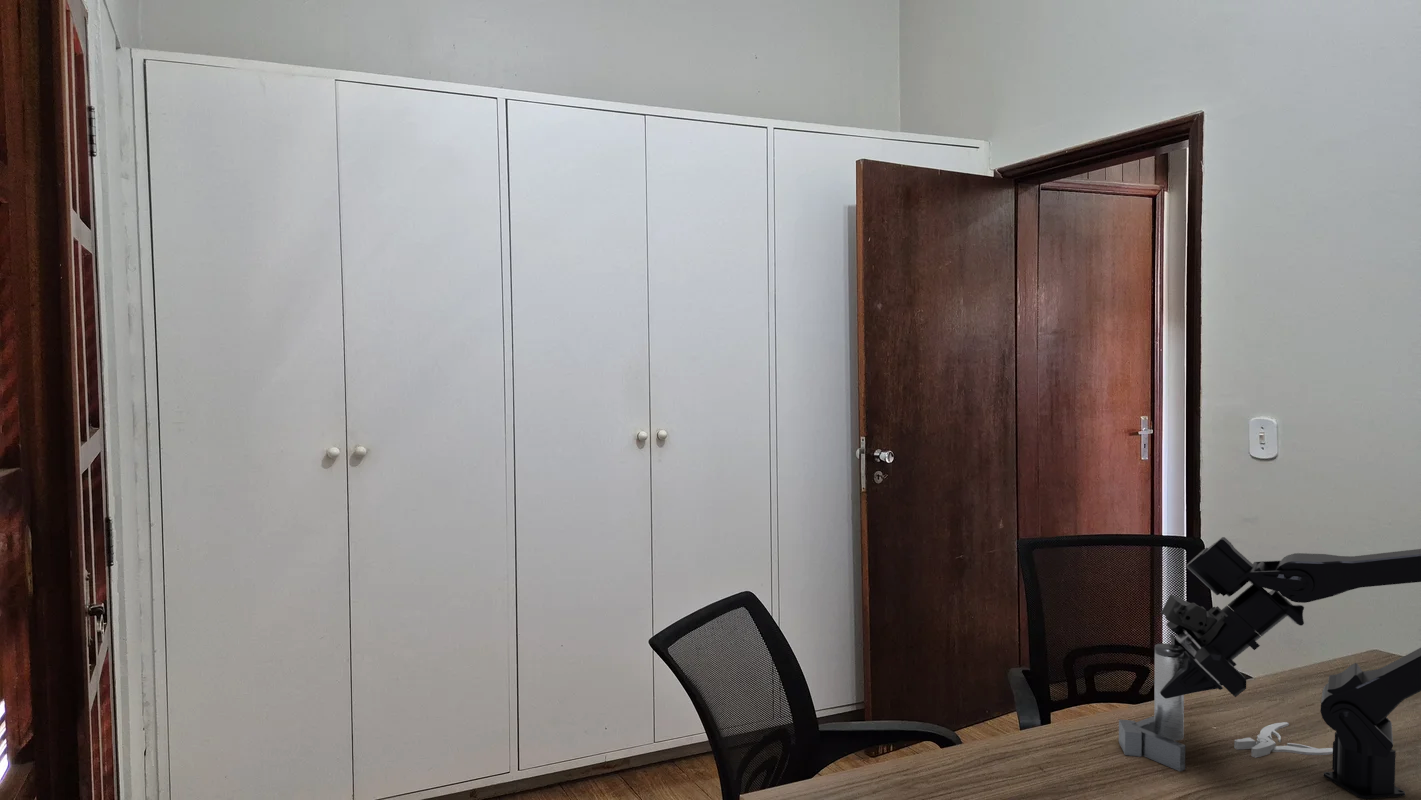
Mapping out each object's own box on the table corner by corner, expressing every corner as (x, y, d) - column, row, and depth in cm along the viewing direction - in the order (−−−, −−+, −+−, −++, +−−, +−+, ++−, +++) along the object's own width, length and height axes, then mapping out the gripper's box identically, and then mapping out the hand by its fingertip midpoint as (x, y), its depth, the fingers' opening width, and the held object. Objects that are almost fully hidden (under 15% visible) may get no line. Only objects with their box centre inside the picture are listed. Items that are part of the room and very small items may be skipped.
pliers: (1349, 742, 126) (1276, 759, 121) (1349, 752, 126) (1276, 770, 121) (1284, 716, 135) (1214, 730, 130) (1284, 725, 135) (1214, 740, 130)
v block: (1165, 736, 131) (1165, 714, 131) (1186, 772, 120) (1187, 747, 119) (1113, 731, 133) (1114, 709, 133) (1130, 766, 121) (1130, 742, 121)
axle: (1189, 739, 124) (1190, 651, 123) (1165, 741, 123) (1165, 653, 123) (1172, 728, 127) (1173, 642, 127) (1148, 730, 127) (1149, 644, 126)
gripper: (1181, 564, 132) (1104, 630, 136) (1220, 597, 114) (1130, 672, 118) (1238, 617, 131) (1159, 682, 134) (1286, 659, 113) (1193, 733, 116)
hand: (1158, 690), depth 125 cm, fingers closed on axle, 4 cm apart
